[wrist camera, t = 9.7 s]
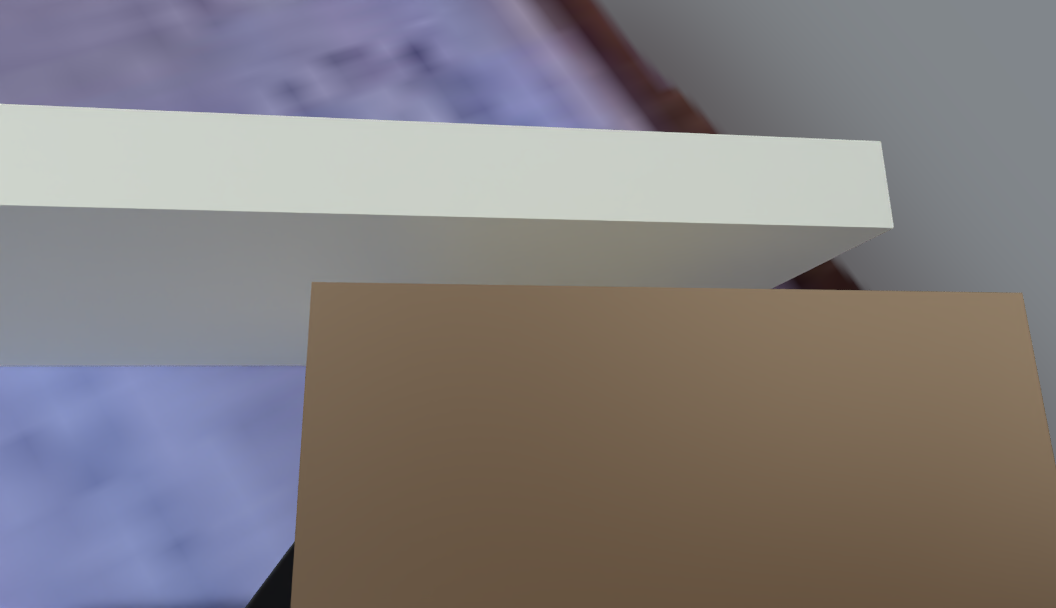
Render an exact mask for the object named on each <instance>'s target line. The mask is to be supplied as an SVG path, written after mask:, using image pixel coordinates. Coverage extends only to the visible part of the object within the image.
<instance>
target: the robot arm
mask: <svg viewBox="0 0 1056 608" xmlns="http://www.w3.org/2000/svg"><path fill="white" fill-rule="evenodd" d="M294 547H295V542H294V543H293V544H292V546H291V547H290V548H289V550H288V551H287V552H286V554H285V555H284V556H283V558H282V559H281V560H280V562H279V563H278V564H277V566H276V567H275V568H274V570H273V571H272V572H271V574H270V575H269V576H268V578H267V579H266V580H265V582H264V583H263V584H262V586H261V587H260V588H259V590H258V591H257V592H256V594H255V595H254V596H253V598H252V599H251V600H250V602H249V603H248V605H247V606H246V607H245V608H291V593H292V577H293V562H294Z"/></svg>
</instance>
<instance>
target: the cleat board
mask: <svg viewBox="0 0 1056 608" xmlns="http://www.w3.org/2000/svg"><path fill="white" fill-rule="evenodd" d="M892 228H894V226H893V219H892V213H891V206H890V199H889V193H888V186H887V180H886V173H885V166H884V160H883V153H882V147H881V142H880V141H861V140H837V139H813V138H790V137H766V136H742V135H720V134H696V133H673V132H649V131H626V130H602V129H579V128H555V127H532V126H508V125H484V124H461V123H437V122H414V121H390V120H367V119H343V118H320V117H296V116H273V115H249V114H226V113H202V112H179V111H155V110H132V109H108V108H85V107H61V106H37V105H14V104H0V366H306V361H307V346H308V330H309V315H310V299H311V284H312V282H347V283H412V284H477V285H542V286H607V287H672V288H737V289H772V288H774V287H776V286H778V285H780V284H782V283H784V282H786V281H788V280H790V279H792V278H794V277H796V276H798V275H800V274H802V273H804V272H806V271H808V270H810V269H812V268H814V267H816V266H818V265H820V264H822V263H824V262H826V261H828V260H830V259H832V258H834V257H836V256H838V255H840V254H842V253H844V252H846V251H848V250H850V249H852V248H854V247H856V246H858V245H860V244H862V243H864V242H866V241H868V240H870V239H872V238H875V237H876V236H879V235H881V234H883V233H885V232H886V231H888V230H891V229H892Z"/></svg>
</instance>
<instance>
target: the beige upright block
mask: <svg viewBox="0 0 1056 608" xmlns="http://www.w3.org/2000/svg"><path fill="white" fill-rule="evenodd" d="M291 608H1056V465H1055V460H1054V455H1053V450H1052V445H1051V440H1050V434H1049V429H1048V424H1047V419H1046V414H1045V408H1044V403H1043V398H1042V393H1041V388H1040V382H1039V377H1038V372H1037V367H1036V362H1035V357H1034V351H1033V346H1032V341H1031V336H1030V331H1029V325H1028V321H1027V315H1026V310H1025V305H1024V299H1023V295H1022V293H997V292H932V291H931V292H930V291H867V290H802V289H737V288H672V287H607V286H542V285H477V284H412V283H347V282H312V284H311V299H310V315H309V330H308V346H307V361H306V376H305V392H304V407H303V423H302V438H301V454H300V469H299V485H298V500H297V516H296V531H295V547H294V562H293V577H292V593H291Z"/></svg>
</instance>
